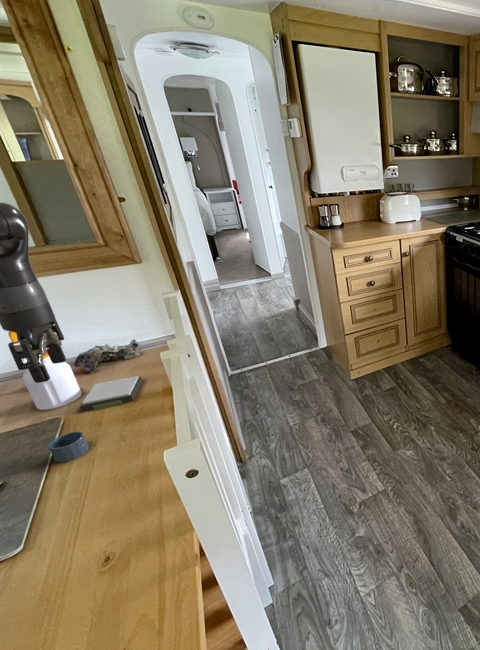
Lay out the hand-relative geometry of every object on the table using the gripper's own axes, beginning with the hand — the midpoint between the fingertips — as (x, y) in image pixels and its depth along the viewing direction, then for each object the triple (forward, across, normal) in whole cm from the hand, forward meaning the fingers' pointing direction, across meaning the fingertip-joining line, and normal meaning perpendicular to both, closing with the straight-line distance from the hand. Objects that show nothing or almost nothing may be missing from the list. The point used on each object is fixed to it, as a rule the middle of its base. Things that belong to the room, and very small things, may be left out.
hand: (51, 371), depth 83 cm
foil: (+22, -46, -6) cm, 52 cm away
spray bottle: (+22, -26, -13) cm, 37 cm away
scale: (+22, -22, 0) cm, 31 cm away
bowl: (+22, +2, -2) cm, 22 cm away
